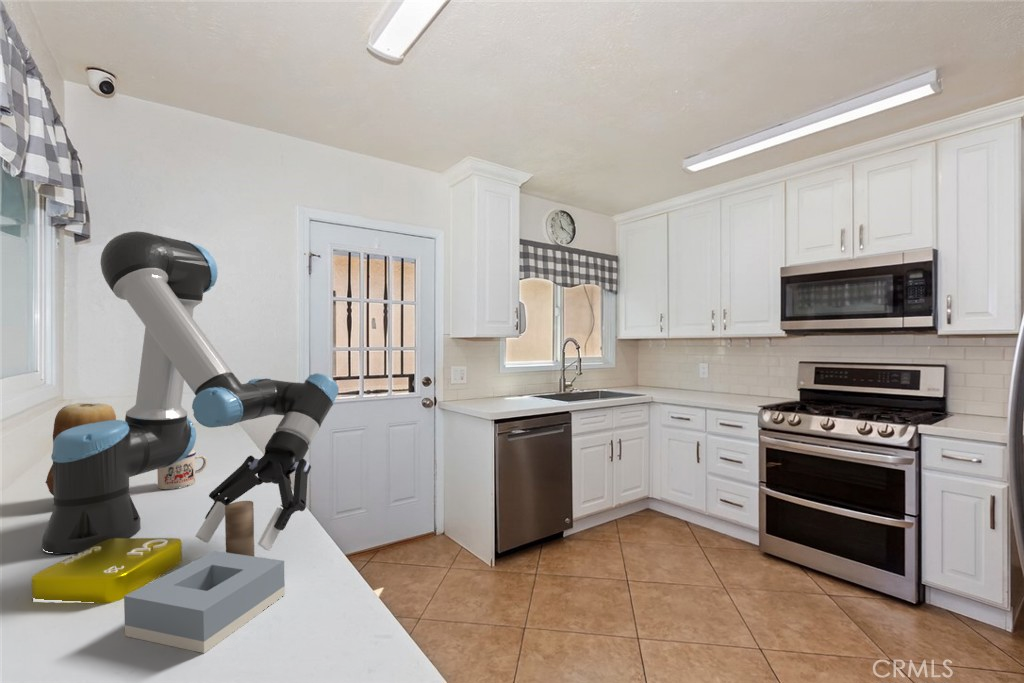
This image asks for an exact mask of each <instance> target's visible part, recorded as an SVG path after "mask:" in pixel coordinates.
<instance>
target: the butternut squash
mask: <svg viewBox="0 0 1024 683" xmlns="http://www.w3.org/2000/svg"><path fill="white" fill-rule="evenodd" d="M109 420H117V417H116V413H115V410H114V408H113V406H112V405H109V404H107V403H106V404H105V403H85V402H83V403H82V402H78V403H72V404H67V405H65V406H64V407H61V408H60V409H59V410H58V411H57V414H56V416H55V418H54V423H53V430H52V431H53V432H52V443H53V442H54V439H55V438H56V436H57V435H58V434H60V433H61V432H63V431H65V430H68V429H70V428H73V427H77V426H80V425H84V424H89V423H97V422H101V421H109ZM45 484H46V486H47V488H48V491H49V493H50V494H51V495H52V496H53V497H54V489H53V463H52V465H51V466H50V468H49V471H48V473H47V476H46V479H45Z"/></svg>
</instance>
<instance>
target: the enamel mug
mask: <svg viewBox="0 0 1024 683" xmlns="http://www.w3.org/2000/svg"><path fill="white" fill-rule="evenodd" d="M196 454H197V452H196V450H194V449H192V451H191V452H190V453H189V454H188V456H186V457H185V458H184V459H183V460H181V461H179V462H176V463H174V464H172V465H170V466H168V467H165V468H159V469H156V471H157V488H158V489H159V490H162V489H171V490H175V489H174V488H179V487H183V488H185V487H184V486H187V485H190V484H192V485H194V484H195V483H196V474H198V473H199V474H200V473H201V472H203V471H204V470H205V469H206V467H207V464H208V460H207V457H206V456H204V455H201V454H200V455H196ZM196 459H202V460H203V462H202V465H201V467H200V468H198V469H197V470H196ZM193 483H194V484H193ZM190 486H191V485H190ZM187 487H188V486H187ZM179 489H180V488H179Z"/></svg>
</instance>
